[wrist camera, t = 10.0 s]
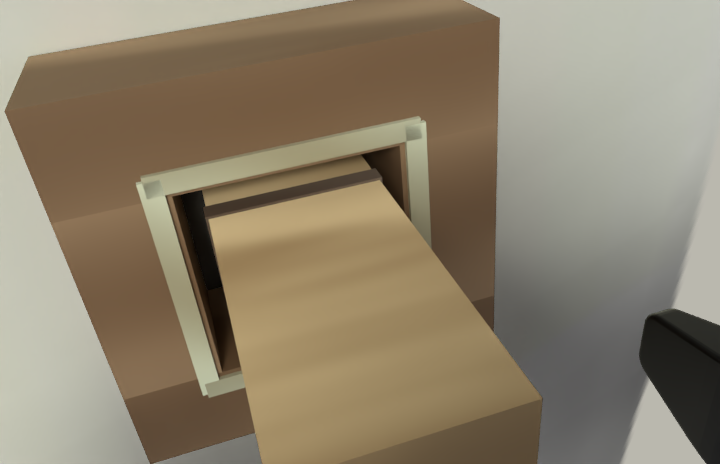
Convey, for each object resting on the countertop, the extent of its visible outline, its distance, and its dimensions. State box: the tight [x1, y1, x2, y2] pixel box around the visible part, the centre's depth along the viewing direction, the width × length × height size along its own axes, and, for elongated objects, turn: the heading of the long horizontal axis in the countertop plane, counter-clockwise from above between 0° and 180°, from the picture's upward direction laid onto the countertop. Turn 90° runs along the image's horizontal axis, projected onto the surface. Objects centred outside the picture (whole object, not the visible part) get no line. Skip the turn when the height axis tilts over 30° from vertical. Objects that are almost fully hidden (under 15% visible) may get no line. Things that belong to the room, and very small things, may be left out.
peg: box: [202, 154, 543, 464], centre depth 12 cm, size 3×3×9 cm
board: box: [5, 0, 500, 464], centre depth 14 cm, size 8×8×3 cm
